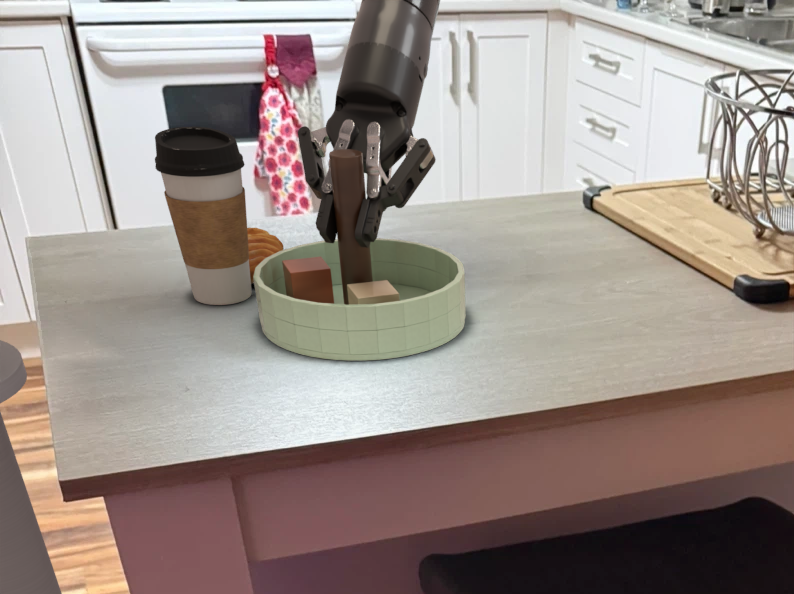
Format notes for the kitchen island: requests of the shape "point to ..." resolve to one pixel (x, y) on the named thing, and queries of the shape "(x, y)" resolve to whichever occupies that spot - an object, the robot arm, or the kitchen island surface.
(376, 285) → the block cream
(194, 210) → the coffee cup
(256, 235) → the pastry
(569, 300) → the kitchen island surface
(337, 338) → the bowl
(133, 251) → the kitchen island surface
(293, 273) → the block terracotta
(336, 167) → the brown tall cylinder
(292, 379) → the kitchen island surface
